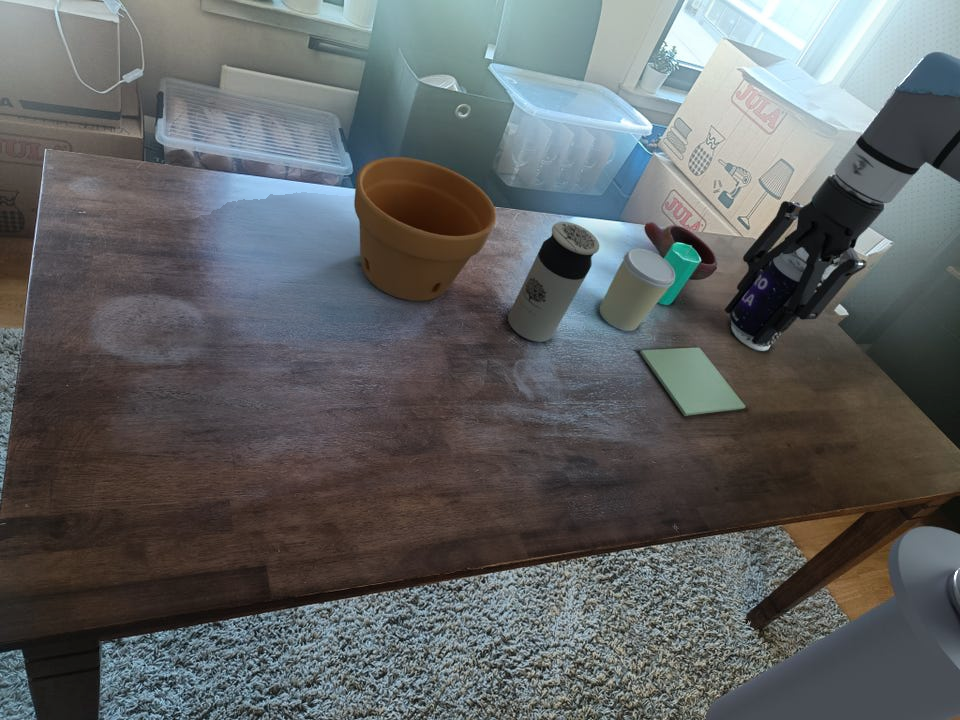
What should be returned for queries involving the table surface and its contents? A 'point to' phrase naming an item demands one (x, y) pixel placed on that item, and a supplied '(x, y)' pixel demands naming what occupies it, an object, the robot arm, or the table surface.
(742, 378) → the table surface
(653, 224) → the bowl
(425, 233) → the flower pot
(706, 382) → the mat
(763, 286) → the beverage can
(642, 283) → the cream lidded canister
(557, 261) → the travel mug
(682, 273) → the candle
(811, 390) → the table surface
